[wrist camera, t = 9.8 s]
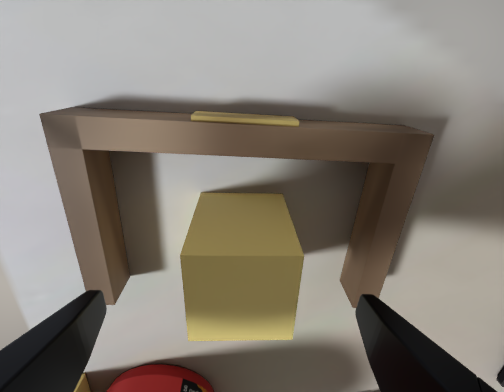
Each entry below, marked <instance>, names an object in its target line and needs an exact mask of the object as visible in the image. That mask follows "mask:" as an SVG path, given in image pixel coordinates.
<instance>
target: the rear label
mask: <svg viewBox="0 0 504 392" xmlns="http://www.w3.org/2000/svg"><path fill="white" fill-rule="evenodd" d="M74 392H91V391H90V388H89V384H88V381H87V378H86V375H85V374H82V376H81V378H80V380H79V382H78V384H77V386H76V388H75V390H74Z"/></svg>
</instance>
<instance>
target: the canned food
mask: <svg viewBox="0 0 504 392" xmlns="http://www.w3.org/2000/svg"><path fill="white" fill-rule="evenodd" d="M106 392H214V390H213V388H212V386H211V385H210V384H209V382H208V381H207V380H205V379H204V378H203V377H202V376H200V375H199V374H197V373H195V372H193V371H191V370H188V369H186V368H183V367H178V366H174V365H165V364H152V365H145V366H140V367H136V368H133V369H130V370H128V371H126V372H124V373H122V374H121V375H120V376H118V377H117V378H116V379H115V381H114V382H113V383H112V384H111V386H110V387H109V388H108V390H107V391H106Z"/></svg>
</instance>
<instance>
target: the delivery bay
mask: <svg viewBox="0 0 504 392" xmlns="http://www.w3.org/2000/svg"><path fill="white" fill-rule="evenodd" d="M39 115H40V118H41V122H42V126H43V130H44V134H45V137H46V141H47V145H48V149H49V152H50V156H51V160H52V164H53V168H54V171H55V175H56V179H57V183H58V187H59V190H60V194H61V198H62V202H63V206H64V209H65V213H66V217H67V221H68V225H69V228H70V232H71V236H72V240H73V244H74V247H75V251H76V255H77V259H78V263H79V266H80V270H81V274H82V278H83V282H84V285H85V289H86V291H88V290H101V291H102V292H103V294H104V299H105V303H106V305H115V303H116V302H117V300H118V298H119V296H120V294H121V292H122V291H123V289H124V287H125V285H126V283H127V281H128V279H129V278H130V274H129V268H128V262H127V256H126V250H125V244H124V238H123V232H122V226H121V220H120V214H119V208H118V202H117V196H116V190H115V184H114V178H113V172H112V166H111V160H110V154H109V151H131V152H153V153H175V154H196V155H218V156H240V157H262V158H284V159H305V160H327V161H349V162H369V166H368V170H367V174H366V178H365V182H364V186H363V190H362V194H361V198H360V202H359V206H358V210H357V214H356V218H355V222H354V226H353V230H352V234H351V238H350V242H349V246H348V250H347V254H346V258H345V262H344V266H343V270H342V274H341V278H340V282H341V284H342V286H343V288H344V290H345V293H346V295H347V297H348V299H349V301H350V303H351V305H352V307H353V308H357V304H358V301H359V298H360V296H361V295H362V294H373V295H375V296H376V297H377V298H379V295H380V292H381V290H382V287H383V284H384V281H385V278H386V275H387V272H388V269H389V266H390V263H391V260H392V257H393V254H394V252H395V249H396V246H397V243H398V240H399V237H400V234H401V231H402V228H403V225H404V222H405V219H406V216H407V214H408V211H409V208H410V205H411V202H412V199H413V196H414V193H415V190H416V187H417V184H418V181H419V178H420V176H421V173H422V170H423V167H424V164H425V161H426V158H427V155H428V152H429V149H430V146H431V143H432V140H433V138H434V135H433V134H430V133H427V132H424V131H421V130H418V129H415V128H411V127H408V126H405V125H388V124H369V123H351V122H333V121H315V120H297V119H296V118H295V117H294V116H276V115H258V114H240V113H222V112H204V111H195V112H194V113H193V114H187V113H169V112H151V111H133V110H115V109H96V108H78V107H70V108H66V109H61V110H56V111H51V112H46V113H41V114H39Z"/></svg>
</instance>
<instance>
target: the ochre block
mask: <svg viewBox="0 0 504 392" xmlns="http://www.w3.org/2000/svg"><path fill="white" fill-rule="evenodd" d="M180 259H181V269H182V280H183V290H184V301H185V311H186V322H187V332H188V341H227V340H292V338H293V331H294V324H295V317H296V310H297V303H298V296H299V288H300V281H301V274H302V267H303V260H304V254H303V251H302V248H301V246H300V243H299V240H298V237H297V234H296V231H295V228H294V225H293V223H292V220H291V217H290V214H289V211H288V208H287V205H286V202H285V200H284V197H283V194H269V193H203V192H201V194H200V197H199V200H198V203H197V206H196V209H195V212H194V215H193V218H192V221H191V224H190V227H189V230H188V233H187V236H186V239H185V242H184V245H183V248H182V251H181V254H180Z"/></svg>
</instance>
